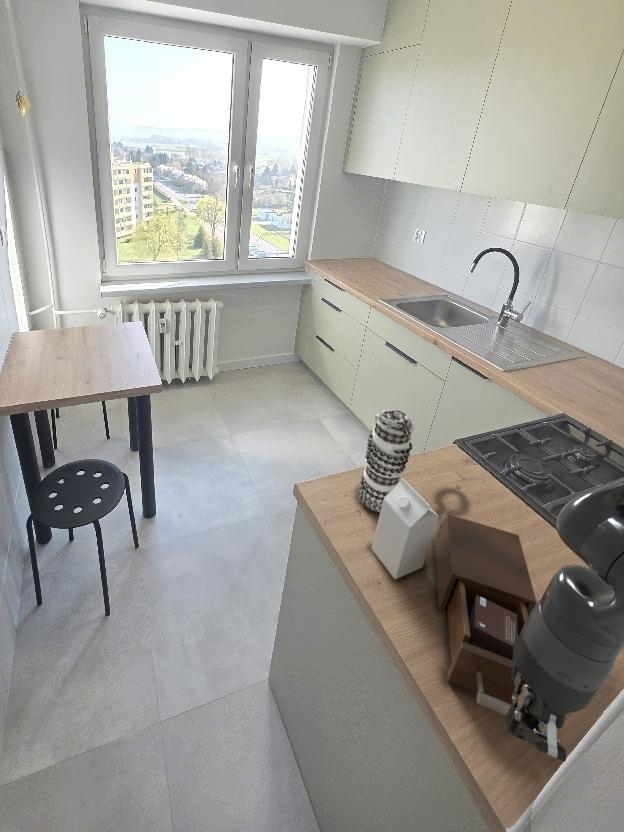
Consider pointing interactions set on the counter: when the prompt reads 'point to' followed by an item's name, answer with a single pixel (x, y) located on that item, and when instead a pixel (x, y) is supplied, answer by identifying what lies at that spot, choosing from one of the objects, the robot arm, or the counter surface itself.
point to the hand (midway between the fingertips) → (514, 728)
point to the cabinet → (482, 561)
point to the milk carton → (404, 530)
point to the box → (492, 627)
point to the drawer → (474, 663)
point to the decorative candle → (385, 457)
